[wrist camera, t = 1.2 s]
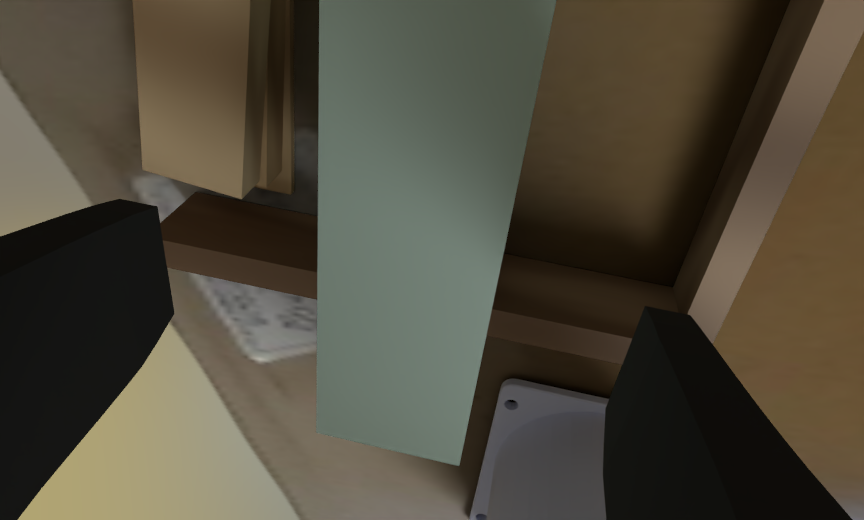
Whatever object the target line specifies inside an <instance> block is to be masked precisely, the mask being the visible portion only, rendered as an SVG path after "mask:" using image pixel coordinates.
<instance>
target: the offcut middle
mask: <svg viewBox="0 0 864 520" xmlns="http://www.w3.org/2000/svg"><path fill="white" fill-rule="evenodd" d="M285 23H286V0H271V4H270V20H269V36H268V53H267V69H266V85H265V101H264V117H263V133H262V149H261V165H260V181H259V182H258V183H257V184H256V185H257V186H261V187H266V188H267V187H268V185H269V184H270V183H271V182H272V181H273V180H274V179H275V178H276V177H277V176H278V175H279V173H280V172H281V171H282V145H283V105H284V64H285Z"/></svg>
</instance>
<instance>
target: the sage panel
mask: <svg viewBox="0 0 864 520" xmlns="http://www.w3.org/2000/svg"><path fill="white" fill-rule="evenodd" d="M555 5H556V0H319V121H318V268H317V416H316V433H320V434H324V435H328V436H333V437H337V438H341V439H345V440H350V441H354V442H358V443H362V444H367V445H371V446H375V447H379V448H384V449H388V450H392V451H397V452H401V453H405V454H409V455H414V456H418V457H422V458H426V459H431V460H435V461H439V462H443V463H448V464H452V465H456V466H459V465H460V460H461V455H462V450H463V445H464V441H465V436H466V431H467V426H468V421H469V417H470V412H471V407H472V402H473V397H474V393H475V388H476V383H477V378H478V373H479V369H480V364H481V359H482V354H483V350H484V345H485V340H486V335H487V330H488V326H489V321H490V316H491V311H492V306H493V302H494V297H495V292H496V287H497V282H498V278H499V273H500V268H501V263H502V258H503V254H504V249H505V244H506V239H507V235H508V230H509V225H510V220H511V215H512V211H513V206H514V201H515V196H516V191H517V187H518V182H519V177H520V172H521V167H522V163H523V158H524V153H525V148H526V143H527V139H528V134H529V129H530V124H531V120H532V115H533V110H534V105H535V100H536V96H537V91H538V86H539V81H540V76H541V72H542V67H543V62H544V57H545V52H546V48H547V43H548V38H549V33H550V28H551V24H552V19H553V14H554V9H555Z"/></svg>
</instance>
